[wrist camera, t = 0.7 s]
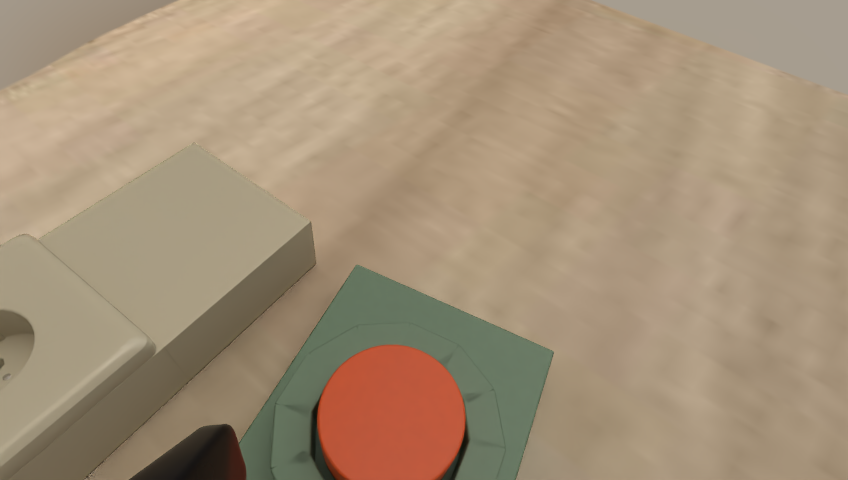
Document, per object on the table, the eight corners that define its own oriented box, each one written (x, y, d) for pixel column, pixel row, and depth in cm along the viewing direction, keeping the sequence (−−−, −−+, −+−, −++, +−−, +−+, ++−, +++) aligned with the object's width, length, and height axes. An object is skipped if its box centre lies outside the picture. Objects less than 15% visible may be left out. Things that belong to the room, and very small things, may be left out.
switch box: (431, 722, 14) (448, 751, 12) (175, 568, 16) (135, 560, 13) (542, 367, 21) (569, 331, 18) (356, 283, 23) (356, 238, 20)
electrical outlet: (309, 206, 20) (-297, 710, 10) (316, 263, 23) (-139, 685, 14) (188, 126, 22) (-414, 485, 12) (210, 188, 25) (-252, 510, 16)
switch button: (424, 533, 14) (430, 525, 13) (293, 464, 15) (286, 449, 14) (475, 398, 17) (486, 380, 16) (361, 344, 18) (362, 322, 16)
